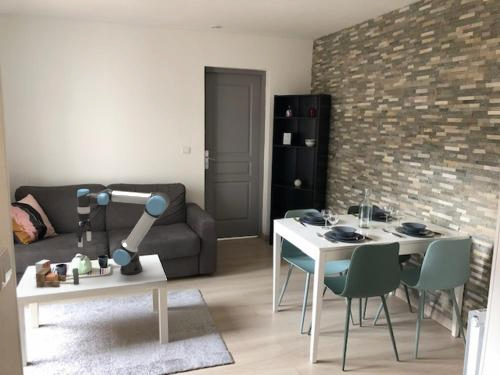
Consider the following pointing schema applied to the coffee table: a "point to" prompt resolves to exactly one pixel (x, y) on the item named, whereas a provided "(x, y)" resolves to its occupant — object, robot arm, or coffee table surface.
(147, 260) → the coffee table surface
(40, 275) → the wooden toy block stack
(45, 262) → the small box
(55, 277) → the tethered block
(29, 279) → the coffee table surface
